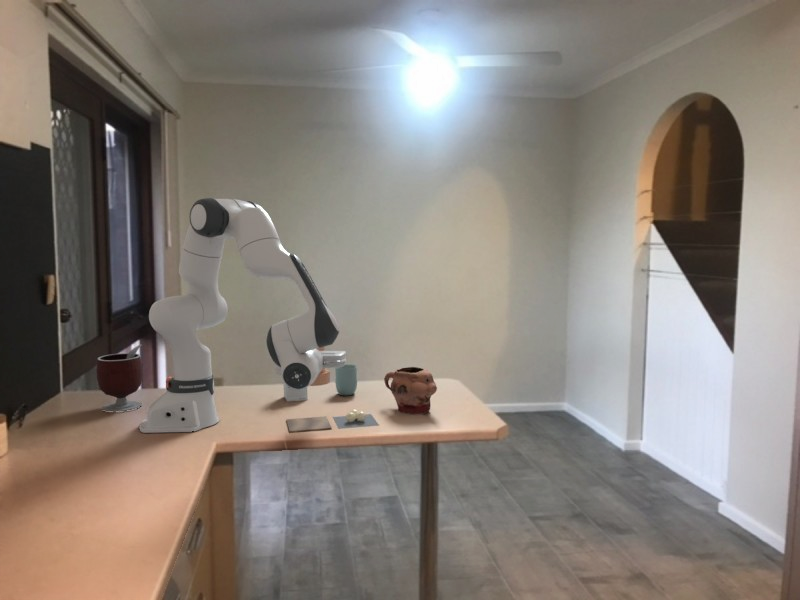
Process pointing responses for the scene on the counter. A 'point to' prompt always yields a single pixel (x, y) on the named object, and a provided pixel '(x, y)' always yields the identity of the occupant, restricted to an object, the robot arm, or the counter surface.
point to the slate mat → (355, 422)
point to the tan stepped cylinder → (322, 375)
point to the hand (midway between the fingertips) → (314, 353)
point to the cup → (346, 379)
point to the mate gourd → (120, 378)
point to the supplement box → (294, 394)
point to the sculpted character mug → (412, 389)
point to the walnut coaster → (308, 424)
